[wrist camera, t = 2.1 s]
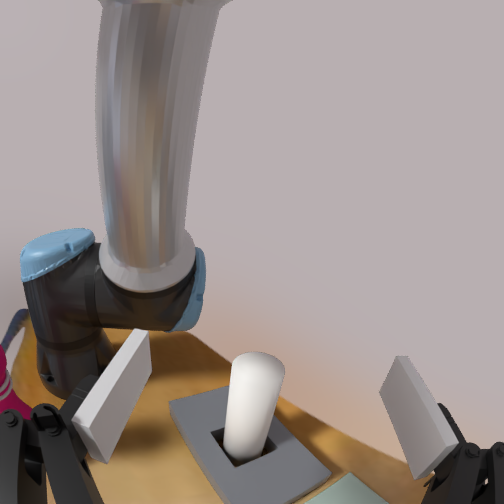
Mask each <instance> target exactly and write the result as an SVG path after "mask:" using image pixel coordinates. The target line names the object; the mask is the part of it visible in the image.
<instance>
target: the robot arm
mask: <svg viewBox="0 0 504 504" xmlns="http://www.w3.org/2000/svg"><path fill="white" fill-rule="evenodd" d="M99 1H100V3H101V5H102V7H103V10H102V16H101V24H100V32H99V41H98V51H97V66H96V89H95V93H96V95H95V119H96V144H97V159H98V170H99V181H100V188H101V197H102V204H103V212H104V218H105V225H106V231H107V235H106V236H105V238H104V239H103V241H102V243H95V236H94V234H93V232H92V231H91V230H89V229H84V228H74V229H67V230H61V231H57V232H53V233H49V234H46V235H43V236H40V237H38V238H36V239H34V240H32V241H31V242H29V243H28V244H27V245H25V247H24V248H23V249H22V251H21V254H20V264H21V280H22V282H23V286H24V291H25V296H26V301H27V305H28V309H29V313H30V317H31V321H32V325H33V328H34V331H35V335H36V338H37V369H38V373H39V376H40V378H41V380H42V383H43V385H44V386H45V388H46V389H47V390H48V391H49V392H51V393H52V394H53V395H55V396H57V397H59V398H62V399H65V400H66V401H65V403H64V404H63V406H62V407H61V408H60V410H58V409H57V408H56V407H55V406H54V405H51V404H46V403H43V404H39V405H37V406H36V407H34V408H33V409H32V411H31V413H30V419H31V420H28V419H24V418H23V416H22V415H21V413H20V412H19V411H17V410H15V409H7V410H4V411H3V412H2V413H1V414H0V504H47V488H46V472H47V475H48V479H49V482H50V486H51V489H52V492H53V496H54V499H55V502H56V504H104V502H103V500H102V498H101V496H100V494H99V491H98V489H97V487H96V484H95V482H94V480H93V477H92V475H91V472H90V470H89V467H88V464H87V462H86V459H85V458H84V457H85V456H86V454H87V452H88V453H89V454H90V456H91V458H93V459H96V460H98V461H100V462H103V463H106V464H108V462H109V459H110V457H111V455H112V453H113V451H114V449H115V446H116V444H117V442H118V440H119V438H120V436H121V434H122V432H123V429H124V427H125V425H126V423H127V421H128V419H129V417H130V415H131V413H132V411H133V409H134V407H135V405H136V403H137V400H138V398H139V396H140V394H141V392H142V390H143V388H144V386H145V384H146V382H147V380H148V378H149V376H150V374H151V372H152V365H151V356H150V345H149V332H148V331H145V330H151V331H164V332H167V333H171V332H173V331H187V330H190V329H191V328H193V327H194V326H195V325H196V323H197V321H198V319H199V316H200V313H201V309H202V305H203V294H204V290H205V280H206V279H205V278H206V265H205V257H204V253H203V251H202V250H201V249H200V248H198V247H195V245H194V242H193V239H192V238H191V236H190V234H189V233H188V232H187V231H186V230H185V229H184V226H185V216H186V205H187V195H188V186H189V177H190V169H191V161H192V153H193V146H194V138H195V132H196V125H197V119H198V112H199V106H200V101H201V95H202V89H203V84H204V78H205V73H206V67H207V63H208V58H209V53H210V49H211V44H212V39H213V35H214V31H215V26H216V22H217V18H218V14H219V10H220V9H221V8H222V7H223V6H224V5H225V4H227V3H229V2H230V1H232V0H99ZM103 328H115V329H130V330H133V332H132V333H131V334H130V336H129V337H128V338H127V340H126V341H125V343H124V344H123V345H122V347H121V348H120V349H119V351H118V352H117V353H116V351H115V349H114V347H113V346H112V344H111V342H110V340H109V339H108V337H107V335H106V333H105V332H104V330H103ZM379 393H380V395H381V398H382V400H383V402H384V405H385V407H386V409H387V412H388V414H389V417H390V419H391V422H392V424H393V426H394V429H395V431H396V434H397V436H398V439H399V441H400V444H401V446H402V449H403V452H404V454H405V457H406V460H407V462H408V465H409V468H410V470H411V473H412V476H413V479H414V480H417V479H420V478H424V477H427V476H428V475H429V474H430V473H431V472H432V471H433V470H434V472H435V475H434V476H433V477H432V478H431V479H430V480H429V481H427V482H426V483H425V485H424V487H426V486H427V485H428V484H429V483H430V484H429V487H428V489H427V492H426V494H425V496H424V499H423V501H422V503H421V504H504V443H503V442H496V443H495V444H494V445H493V446H492V447H491V448H490V449H480V448H479V447H478V446H477V445H476V444H474V443H467V442H466V440H465V438H464V437H463V435H462V433H461V431H460V430H459V428H458V426H457V424H456V423H455V421H454V419H453V418H452V417H451V414H450V412H449V411H448V410H447V408H445V406H443V405H442V404H441V403H436V401H435V399H434V398H433V396H432V395H431V393H430V391H429V389H428V388H427V386H426V385H425V383H424V381H423V380H422V378H421V377H420V375H419V373H418V372H417V370H416V369H415V367H414V366H413V364H412V363H411V361H410V359H409V358H408V356H396V358H395V360H394V362H393V365H392V367H391V369H390V371H389V373H388V375H387V377H386V380H385V381H384V383H383V386H382V388H381V389H380V391H379ZM487 478H488V483H487V484H486V485H485V480H486V479H487Z"/></svg>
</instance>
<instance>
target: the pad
mask: <svg viewBox="0 0 504 504" xmlns="http://www.w3.org/2000/svg"><path fill="white" fill-rule="evenodd" d="M304 504H389V503H388V502H386V501H385V500H384V499H382V498H381V497H380V496H379V495H377V494H376V493H375V492H374V491H372V490H371V489H370V488H369V487H367V486H366V485H365V484H364V483H363V482H361V481H360V480H359V479H358V478H357V477H355V476H354V475H353V474H352V473H351V472H349V473H348V474H346V475H345V476H344V477H342V478H341V479H340V480H338V481H337V482H336V483H334V484H333V485H331V486H330V487H329V488H327V489H326V490H324V491H323V492H321V493H320V494H318V495H317V496H315V497H314V498H312V499H310V500H309V501H307V502H306V503H304Z"/></svg>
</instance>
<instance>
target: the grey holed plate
mask: <svg viewBox="0 0 504 504" xmlns="http://www.w3.org/2000/svg"><path fill="white" fill-rule="evenodd" d="M229 386H230V385H229ZM229 386H225V387H222V388H218V389H215V390H211V391H208V392H204V393H200V394H197V395H193V396H189V397H185V398H181V399H176V400H172V401H169V409H170V415H171V417H172V419H173V421H174V423H175V425H176V426H177V428H178V430H179V432H180V434H181V436H182V438H183V439H184V441H185V443H186V445H187V446H188V448H189V450H190V452H191V453H192V455H193V457H194V458H195V460H196V462H197V463H198V465H199V467H200V468H201V470H202V471H203V473H204V475H205V476H206V478H207V479H208V481H209V482H210V484H211V485H212V487H213V488H214V490H215V491H216V493H217V494H218V496H219V497H220V498H221V500H222V501H223V503H224V504H291V503H293V502H295V501H296V500H298V499H300V498H302V497H303V496H305V495H306V494H308V493H310V492H311V491H313V490H314V489H316V488H318V487H319V486H321V485H322V484H324V483H325V482H326V480H327V479H328V478H329V477H330V475H331V474H332V472H331V471H330V470H328V469H327V468H326V467H325V466H324V465H323V464H322V463H321V462H320V461H319V460H318V459H317V458H316V457H315V456H314V455H313V454H312V453H311V452H310V451H309V450H307V449H306V448H305V447H304V446H303V445H302V444H301V443H300V442H299V441H298V440H297V439H296V438H295V436H294V435H293V434H292V433H291V432H290V431H289V430H288V429H287V428H286V427H285V426H284V425H283V424H282V423H281V422H280V421H279V420H278V419H277V418H276V417H275V416H274V414H273V418H272V421H271V424H270V428H269V431H268V434H267V438H266V441H265V444H264V448H265V449H266V450H267V451H268V452H269V454H266V455H264V456H262V457H260V458H258V459H255V460H253V461H251V462H248V463H246V464H244V465H241V466H239V467H236V468H235V467H234V466H233V465H232V463H231V462H230V460H229V459H228V458H227V456H226V455H225V453H224V452H223V451H222V449H221V448H220V446H219V445H218V443H217V442H216V441H219V440H222V439H224V432H225V423H226V413H227V404H228V395H229Z"/></svg>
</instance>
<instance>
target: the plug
mask: <svg viewBox="0 0 504 504" xmlns="http://www.w3.org/2000/svg"><path fill="white" fill-rule="evenodd" d="M284 375H285V368H284V366H283V364H282V363H281V362H280V361H279V360H278V359H277V358H275V357H274V356H271V355H269V354H266V353H262V352H247V353H244V354H241V355H239V356H237V357H236V358H235V359H234V361H233V363H232V369H231V378H230V386H229V395H228V404H227V413H226V423H225V432H224V441H223V450H222V451H223V452H224V453H225V455H226V456H227V458H228V459H229V460H230V462H231V463H232V465H233V466H236V467H239V466H241V465H244V464H246V463H248V462H251V461H253V460H255V459H258V458H260V457H261V453H262V450H263V447H264V444H265V441H266V438H267V434H268V431H269V428H270V424H271V421H272V418H273V414H274V411H275V407H276V404H277V400H278V397H279V393H280V389H281V386H282V382H283V378H284Z"/></svg>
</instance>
